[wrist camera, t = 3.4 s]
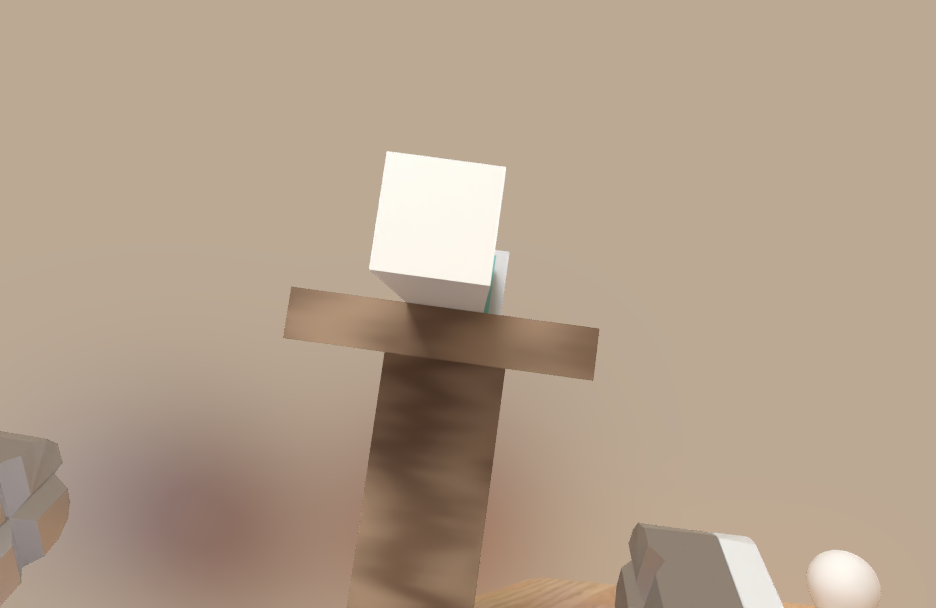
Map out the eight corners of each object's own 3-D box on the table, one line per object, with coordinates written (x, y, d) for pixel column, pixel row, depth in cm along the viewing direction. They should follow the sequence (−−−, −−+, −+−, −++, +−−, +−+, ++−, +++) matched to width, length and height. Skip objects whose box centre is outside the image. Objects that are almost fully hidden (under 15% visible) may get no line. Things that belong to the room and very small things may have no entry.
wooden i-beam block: (494, 770, 38) (548, 341, 40) (511, 1066, 22) (599, 328, 24) (297, 741, 38) (362, 315, 41) (173, 1013, 22) (291, 286, 25)
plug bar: (495, 331, 38) (504, 265, 38) (530, 291, 16) (550, 133, 16) (412, 320, 38) (422, 254, 38) (328, 264, 16) (353, 107, 16)
